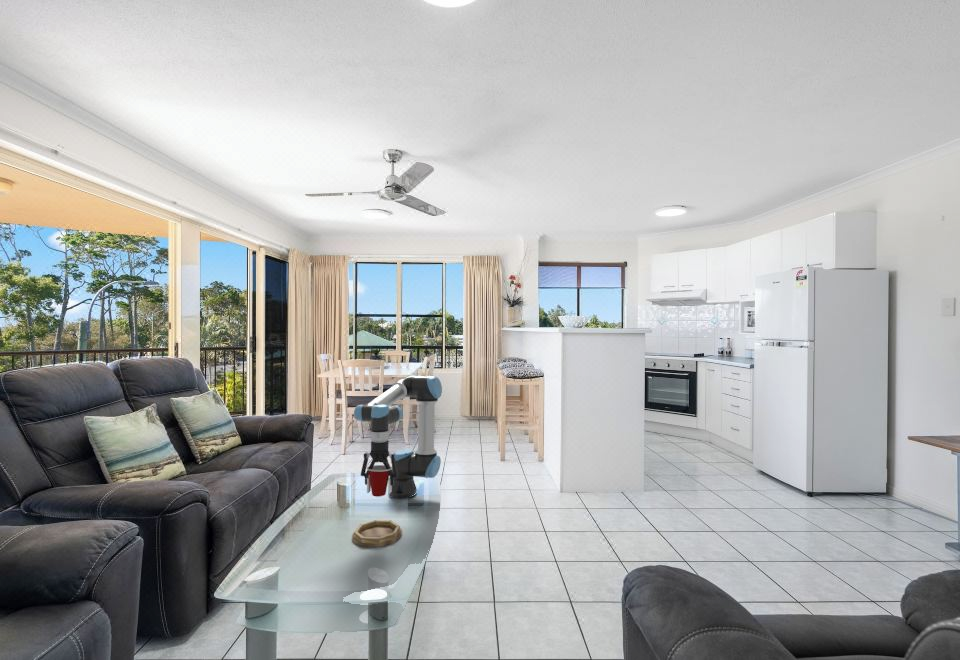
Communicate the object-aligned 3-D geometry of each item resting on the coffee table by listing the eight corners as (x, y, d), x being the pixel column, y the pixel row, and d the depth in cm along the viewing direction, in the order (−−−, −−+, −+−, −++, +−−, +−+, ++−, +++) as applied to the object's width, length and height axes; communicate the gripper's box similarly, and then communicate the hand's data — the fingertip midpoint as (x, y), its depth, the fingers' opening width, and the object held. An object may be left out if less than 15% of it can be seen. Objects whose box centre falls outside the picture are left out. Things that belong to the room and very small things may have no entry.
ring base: (386, 521, 208) (386, 515, 208) (411, 537, 192) (411, 530, 192) (343, 534, 194) (343, 527, 194) (366, 552, 179) (366, 545, 179)
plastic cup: (396, 492, 198) (397, 465, 199) (381, 500, 188) (381, 471, 189) (377, 488, 203) (377, 462, 203) (361, 496, 193) (361, 468, 193)
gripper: (352, 441, 193) (352, 494, 193) (401, 443, 192) (401, 496, 191) (358, 438, 201) (358, 488, 200) (405, 439, 199) (405, 490, 199)
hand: (379, 492), depth 196 cm, fingers closed on plastic cup, 9 cm apart
